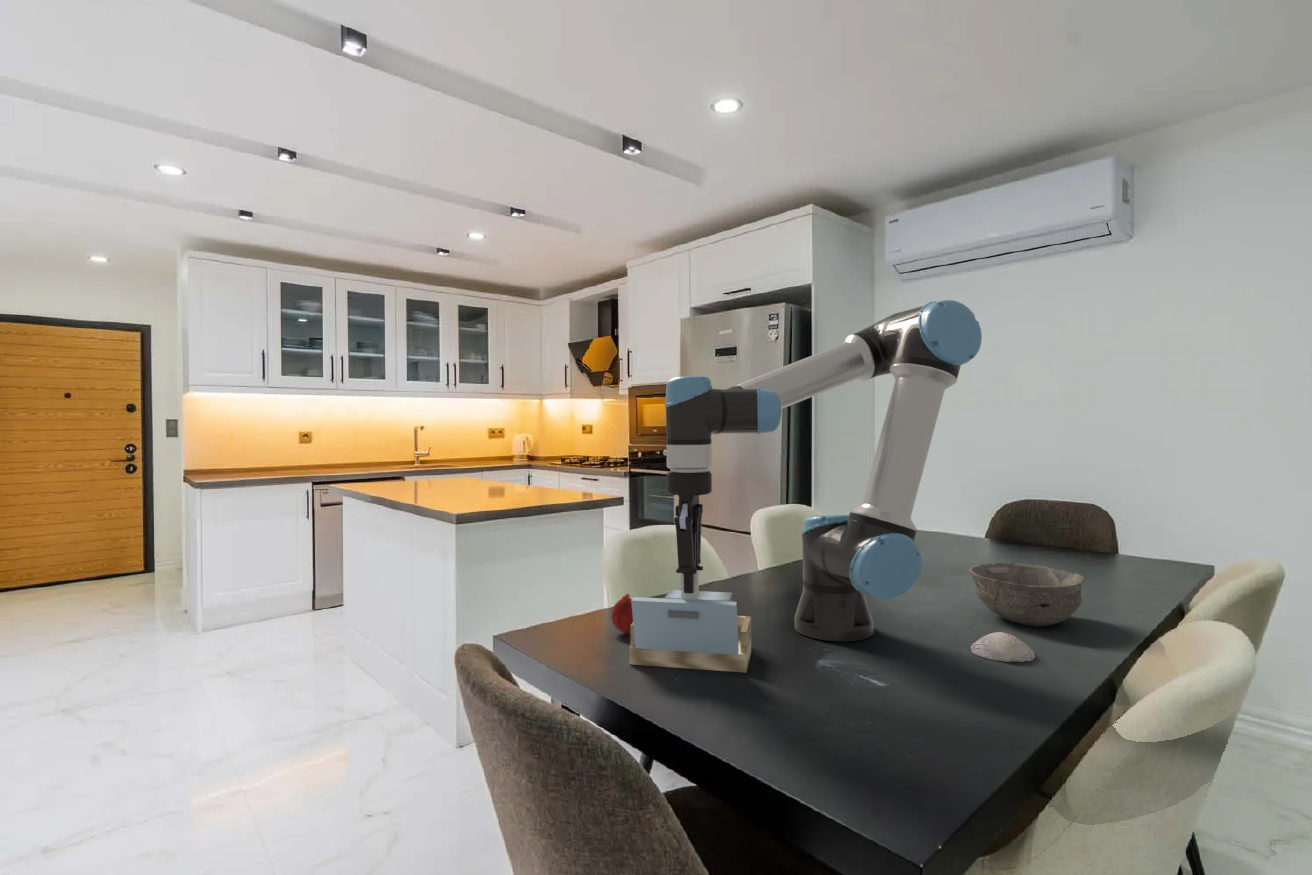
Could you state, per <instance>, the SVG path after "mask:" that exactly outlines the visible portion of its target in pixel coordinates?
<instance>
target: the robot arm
mask: <svg viewBox="0 0 1312 875" xmlns="http://www.w3.org/2000/svg"><path fill="white" fill-rule="evenodd" d="M982 340H983V338H982V328H981V326H980V322H979V321H978V320H977V319H976V316H975V314H974V312H973V311H972V310H971V309H970V308H969V307H968V306H967V305H965V304H963V303H962V302H959V301H956V300H953V299H946V300H945V299H944V300H940V301H930V302H928V303H926V304H924V305H922V306H918V307H914V308H911V309H907V310H903V311H900V312H897V313H893V314H891V315H889V316H887V317H885V318H883V319H881V320H879V321H877V322H876V323H874V324H872V325H870V326H868V327H866V328H863V329H862V330H860V331H859V330H858V331H857V332H854V333H852V334H850V335H848V336H846V337H845V339H844V340H843V343H841V344H838V345H835V346H834V347H830V348H828V349H825V350H822V351H820V352H818V353H816V354H815V353H814V354H813V355H810V356H808V357H805V358H802V359H799V360H796V361H794V362H793V363H790V364H789V363H788V364H787V365H785V366H782V367H779V368H777V369H774V370H772V371H769V372H767V373H763V374H761V375H760V376H755V377H754V378H750V379H749V380H747V381H743V382H741V383H739V384H736V385H735V386H731V387H728V388H726V389H720V388H719V389H718V388H713V385H712V382H711V379H710V378H709V377H707V376H698V375H693V376H688V375H687V376H674V377H671V378H670V379H669V380H667V383H666V386H665V388H666V389H665V403H664V407H665V429H666V430H665V431H666V449H664V450H663V451H662V454H663V456H666V467H667V468H668V469H669V471H667V472H666V478H665V479H666V492H667V493H668V495H673V496H678V497H679V499H678V505H675V517H674V521H673V522H674V524H675V525H674V526H675V531H676V532H675V533H676V534H675V535H676V548H677V562H678V563H677V565H678V567H677V569H676V571H675V574H680V581H681V582H680V583H681V584H680V585H681V586H680V587H681V588H680V590H681V599H686V600H699V591H700V590H699V589H700V588H699V581H700V580H699V579H700V578H699V576H700V575H699V574H700V573H699V571H701V572H702V571H704V566H703V565H701V563H702V559H701V554H702V553H701V548H702V546H701V545H702V519H703V511H704V509H703V508H704V506H703V504H702V503H700V496H705V495H709V494H711V493H712V490H713V489H712V488H713V486H712V485H713V483H712V482H713V480H712V479H713V478H712V477H713V474H712V472H711V471H710V470H709V469H710V468H712V467H713V453H712V452H713V448H712V445H713V444H712V435H719V434H758V435H760V434H764V433H765V434H766V433H773V432H775V431H776V430H777V428H778V427H779V426H780V423H781V419H782V410H783V409H785V408H787V407H790V406H792V405H795V404H798V403H801V402H803V401H805V400H807V399H810V398H813V397H815V396H818V395H820V394H822V393H825V392H828V391H830V390H832V389H835V388H838V387H840V386H843V385H845V384H848V383H850V382H852V381H855V380H859V381H861V382H863V381H869V380H870V379H873V378H876V377H880V376H883V375H889V374H892V376H893V377H894V384H893V387H892V391H891V394H890V395H891V396H890V399H889V401H888V402H889V403H888V407H887V409H886V413H885V417H884V421H883V424H882V428H881V432H880V436H879V439H878V444H877V446H876V451H875V452H874V453H875V454H874V457H873V460H872V464H871V465H872V466H871V467H870V468H871V469H870V472H869V476H868V480H867V483H866V486H865V490H864V493H863V494H864V495H863V496H862V497H863V498H862V501H861V504H860V505H859V506H857V507H855V508H854V509H851V510H850V512H849V514H826V515H825V514H824V515H810V516H807V517H805V518H804V519H803V521H802V531H801V538H802V540H801V541H802V581H803V582H802V593H801V594H800V598H799V602H798V605H797V608H796V612H795V615H794V629H795V631H796V632H797V633H799V634H801V635H803V636H805V637H808V638H811V639H817V640H821V641H827V642H855V641H856V642H857V641H862V640H866V639H869V638H871V636H873V635H874V621H873V617H872V614H871V611H870V608H869V606H868V602H867V598H866V596H868V597H871V598H876V599H881V600H891V599H896V598H898V597H901V596H902V595H903V594H906V593H907V592H908V591H909V590H911V589H912V588H913V586H914V585H915V584H916V583H917V581H918V579H919V577H920V575H921V571H922V568H923V567H922V566H923V558H922V554H921V553H920V552H919V551H920V549H919V547H918V545H917V544H916V543H915V539H916V536H917V535H916V534H917V530H918V529H917V527H916V526H915V524H914V522H913V521H912V513H913V511H914V510H913V509H914V506H915V504H916V499H917V495H918V490H919V487H920V483H921V479H922V476H923V474H924V469H925V466H926V462H927V458H928V454H929V449H930V446H931V444H932V438H933V435H934V432H935V428H936V424H937V421H938V416H939V413H940V409H941V406H942V402H943V398H944V394H945V391H946V390H947V389H948V388H951V387H952V386H954V385H955V384H956V383H957V381H958V378H959V373H960V371H961V366H962V365H964V364H967V363H968V362H970V361H971V360H973V359H974V358H975V357H976V356H977V354H978V353H979V351H980V349H981V346H982ZM700 565H701V566H700Z"/></svg>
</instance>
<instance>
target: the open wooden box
mask: <svg viewBox="0 0 1312 875" xmlns="http://www.w3.org/2000/svg"><path fill="white" fill-rule="evenodd" d="M664 598H665V599H681V589H670V590H669V592H668V593H667V594H666V595H665V596H664ZM699 600H707V601H728V602H733V592H729V591H727V592H725V591H706V590H705V591H704V590H702V591H701V590H699ZM737 624H738V650H739V651H738V655H731V654H716V653H701V652H685V651H670V650H655V649H639V648H635V638H634V626H633V623H632V624H631V625H630V633H629V634H630V640H629V641H630V646H629V648H628V649H629V651H628V652H629V660H628V661H629V665H635V666H648V667H662V668H664V667H665V668H673V669H674V668H677V669H688V670H689V669H690V670H691V669H692V670H704V671H719V672H734V673H735V672H736V673H748V672H747V671H748V668H749V663H750V660H751V655H752V616H749V615H737Z"/></svg>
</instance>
